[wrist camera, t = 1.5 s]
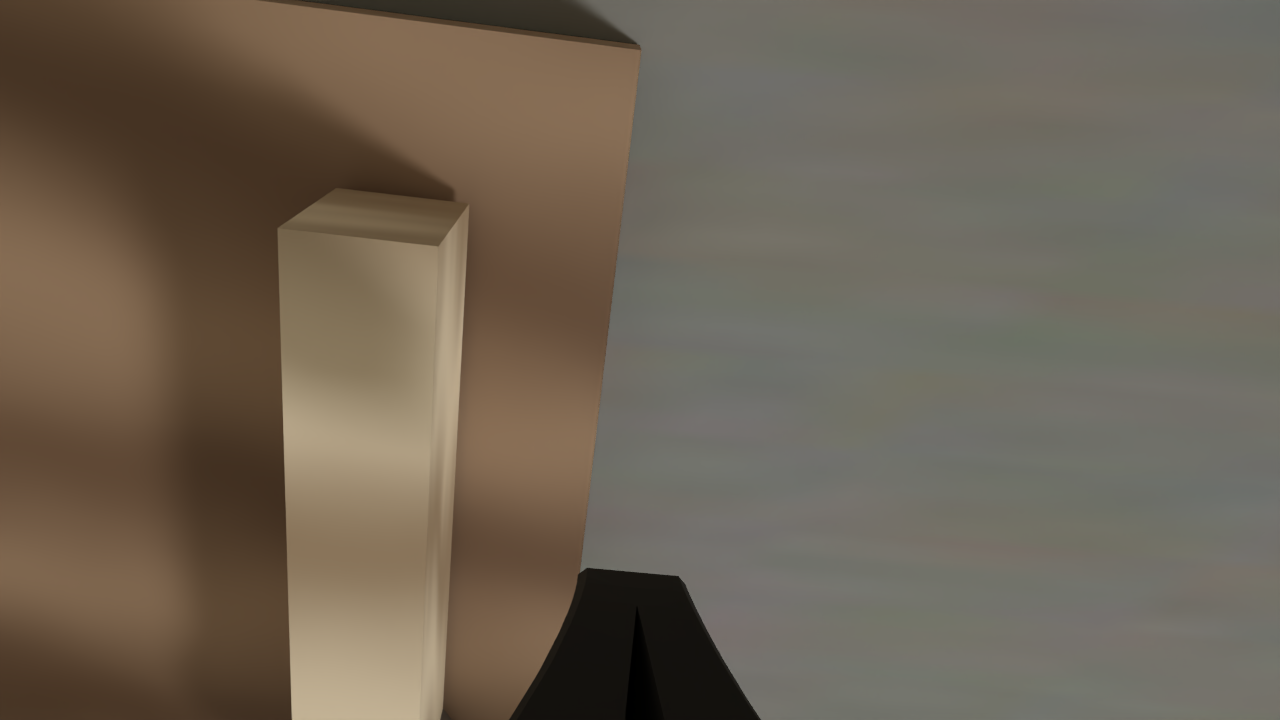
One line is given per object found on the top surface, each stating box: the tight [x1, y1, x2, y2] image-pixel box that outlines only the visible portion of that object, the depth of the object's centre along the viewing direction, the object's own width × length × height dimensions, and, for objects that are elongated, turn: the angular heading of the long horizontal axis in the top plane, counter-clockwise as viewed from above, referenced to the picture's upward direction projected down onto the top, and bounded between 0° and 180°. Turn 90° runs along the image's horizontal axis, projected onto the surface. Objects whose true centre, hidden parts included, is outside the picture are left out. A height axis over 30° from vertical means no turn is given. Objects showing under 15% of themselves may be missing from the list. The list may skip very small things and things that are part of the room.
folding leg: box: [277, 188, 469, 720], centre depth 18 cm, size 15×3×3 cm, turn 173°
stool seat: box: [0, 0, 641, 720], centre depth 18 cm, size 20×20×5 cm
